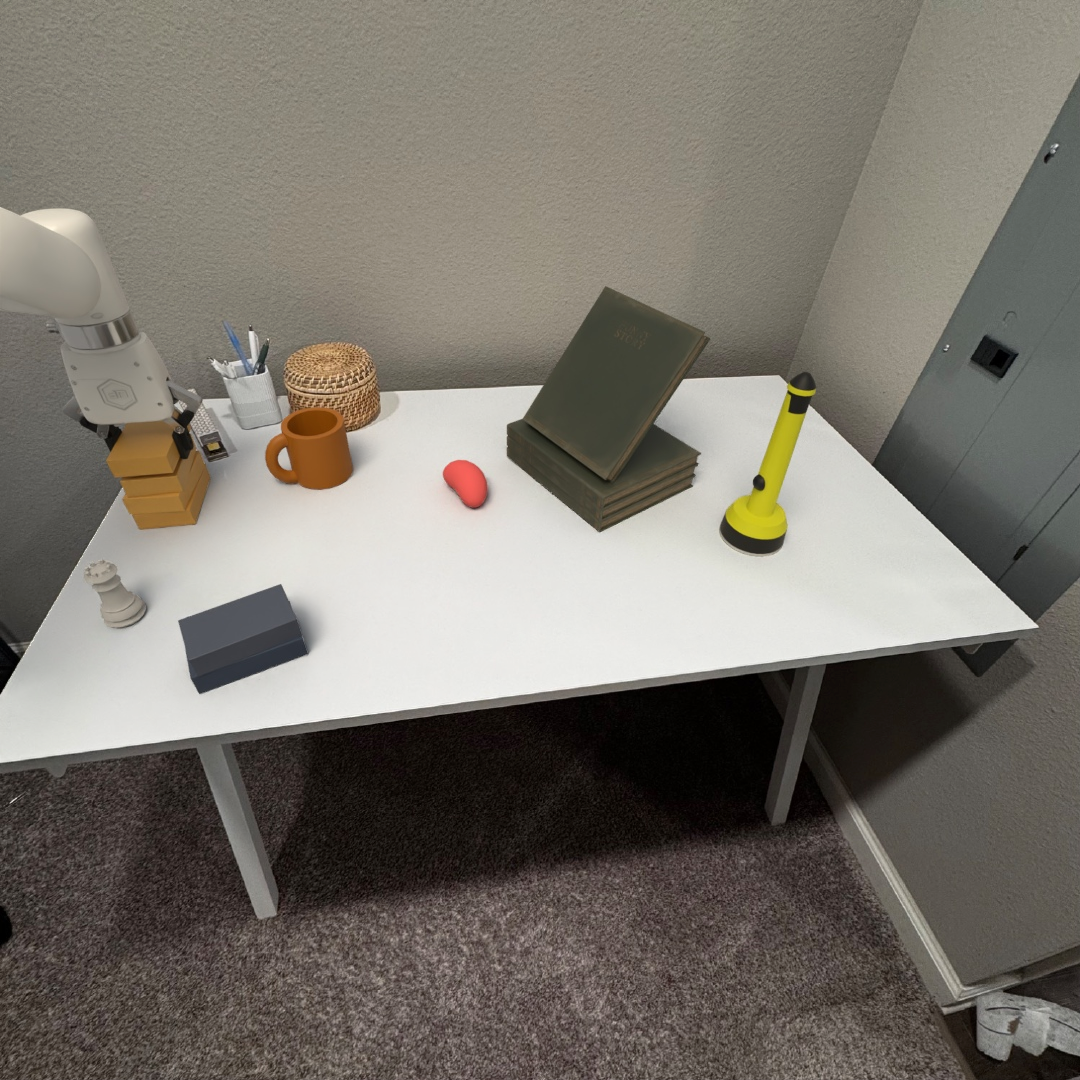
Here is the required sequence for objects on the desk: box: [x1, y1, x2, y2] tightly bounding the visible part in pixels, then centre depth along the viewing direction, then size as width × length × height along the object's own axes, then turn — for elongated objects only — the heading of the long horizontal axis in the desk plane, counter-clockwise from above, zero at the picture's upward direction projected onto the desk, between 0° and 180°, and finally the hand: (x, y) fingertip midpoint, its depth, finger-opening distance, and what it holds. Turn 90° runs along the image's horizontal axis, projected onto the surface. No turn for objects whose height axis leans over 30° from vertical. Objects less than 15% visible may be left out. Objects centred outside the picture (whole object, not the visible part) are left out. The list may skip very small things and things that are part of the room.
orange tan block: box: [105, 421, 192, 478], centre depth 83 cm, size 11×7×3 cm, turn 11°
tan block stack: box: [119, 432, 212, 530], centre depth 87 cm, size 12×8×8 cm, turn 11°
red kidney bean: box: [442, 459, 489, 508], centre depth 92 cm, size 5×9×6 cm, turn 21°
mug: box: [264, 406, 354, 490], centre depth 93 cm, size 9×12×9 cm
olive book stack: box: [506, 285, 711, 533], centre depth 91 cm, size 23×20×25 cm
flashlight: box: [718, 371, 817, 557], centre depth 81 cm, size 25×9×9 cm
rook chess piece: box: [83, 558, 147, 629], centre depth 71 cm, size 4×4×8 cm
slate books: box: [177, 583, 309, 695], centre depth 68 cm, size 12×7×6 cm, turn 119°
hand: (156, 455), depth 85 cm, fingers closed on orange tan block, 7 cm apart
